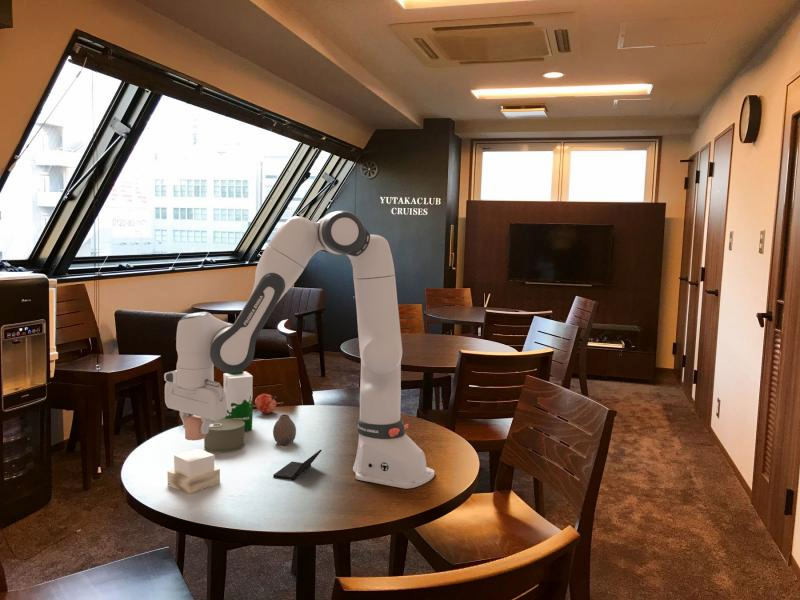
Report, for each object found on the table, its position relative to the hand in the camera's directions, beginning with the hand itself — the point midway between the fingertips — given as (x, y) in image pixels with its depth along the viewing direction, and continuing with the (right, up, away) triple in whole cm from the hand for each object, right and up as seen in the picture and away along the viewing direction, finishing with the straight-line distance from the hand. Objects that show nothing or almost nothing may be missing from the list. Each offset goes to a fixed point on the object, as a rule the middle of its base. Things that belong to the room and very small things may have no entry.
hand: (195, 430), depth 159 cm
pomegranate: (+3, -8, +65) cm, 66 cm away
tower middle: (-1, -10, +1) cm, 10 cm away
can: (-1, -11, +30) cm, 32 cm away
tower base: (-1, -14, +1) cm, 14 cm away
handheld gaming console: (+24, -14, +10) cm, 30 cm away
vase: (+16, -11, +34) cm, 39 cm away
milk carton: (-1, -9, +47) cm, 48 cm away
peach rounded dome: (0, -2, 0) cm, 2 cm away
